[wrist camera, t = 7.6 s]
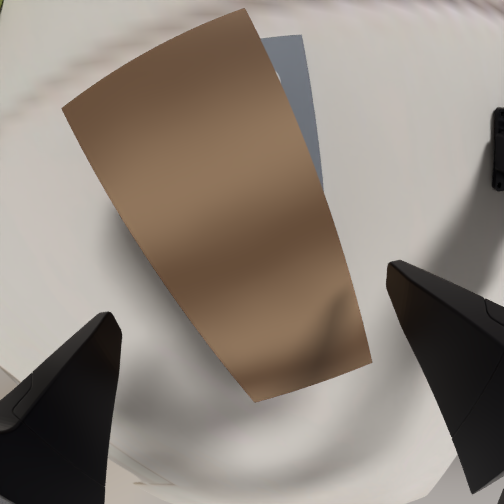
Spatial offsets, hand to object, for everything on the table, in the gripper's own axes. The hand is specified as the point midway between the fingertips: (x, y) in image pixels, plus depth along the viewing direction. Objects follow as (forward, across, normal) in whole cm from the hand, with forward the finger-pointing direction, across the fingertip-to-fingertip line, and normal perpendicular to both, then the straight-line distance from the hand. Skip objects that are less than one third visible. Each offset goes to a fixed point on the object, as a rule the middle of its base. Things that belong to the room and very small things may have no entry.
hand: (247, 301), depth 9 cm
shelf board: (+5, 0, 0) cm, 5 cm away
